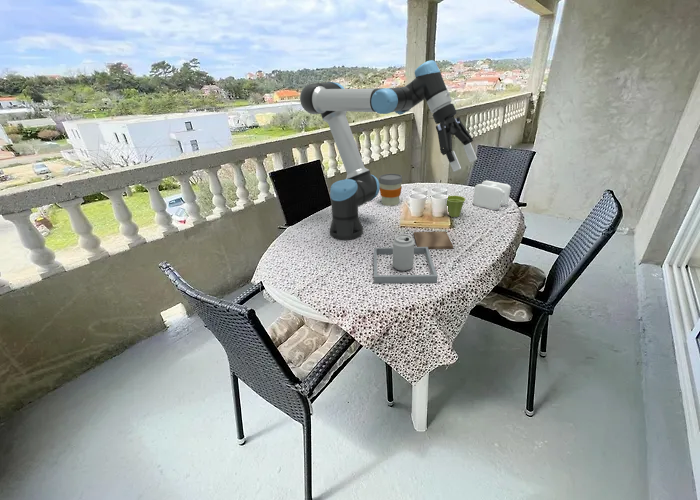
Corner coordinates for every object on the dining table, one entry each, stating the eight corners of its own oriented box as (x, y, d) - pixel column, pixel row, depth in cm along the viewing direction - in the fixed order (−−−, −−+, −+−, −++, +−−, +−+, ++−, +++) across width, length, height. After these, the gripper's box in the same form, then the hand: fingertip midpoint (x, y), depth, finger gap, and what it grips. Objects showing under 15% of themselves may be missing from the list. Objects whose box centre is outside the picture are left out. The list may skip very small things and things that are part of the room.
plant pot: (448, 210, 160) (449, 194, 156) (466, 214, 155) (468, 197, 151) (440, 216, 154) (441, 199, 150) (458, 220, 149) (460, 203, 145)
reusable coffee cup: (405, 201, 176) (406, 174, 169) (395, 208, 167) (396, 180, 160) (385, 198, 182) (385, 172, 175) (375, 205, 173) (374, 178, 166)
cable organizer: (470, 204, 166) (473, 183, 160) (481, 199, 172) (484, 179, 166) (497, 211, 155) (501, 189, 150) (508, 206, 161) (512, 184, 156)
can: (412, 272, 111) (414, 242, 105) (391, 271, 112) (392, 241, 107) (413, 262, 117) (414, 233, 112) (393, 260, 119) (393, 232, 113)
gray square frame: (374, 283, 106) (374, 276, 105) (374, 253, 125) (373, 247, 124) (437, 282, 105) (437, 276, 104) (427, 252, 123) (427, 246, 122)
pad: (417, 249, 126) (417, 246, 125) (413, 234, 138) (413, 232, 137) (452, 248, 125) (453, 246, 124) (445, 233, 137) (445, 231, 136)
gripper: (433, 106, 97) (459, 170, 99) (467, 98, 112) (489, 153, 115) (414, 119, 102) (440, 178, 105) (449, 109, 118) (470, 161, 121)
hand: (465, 165), depth 110 cm, fingers open, 13 cm apart
